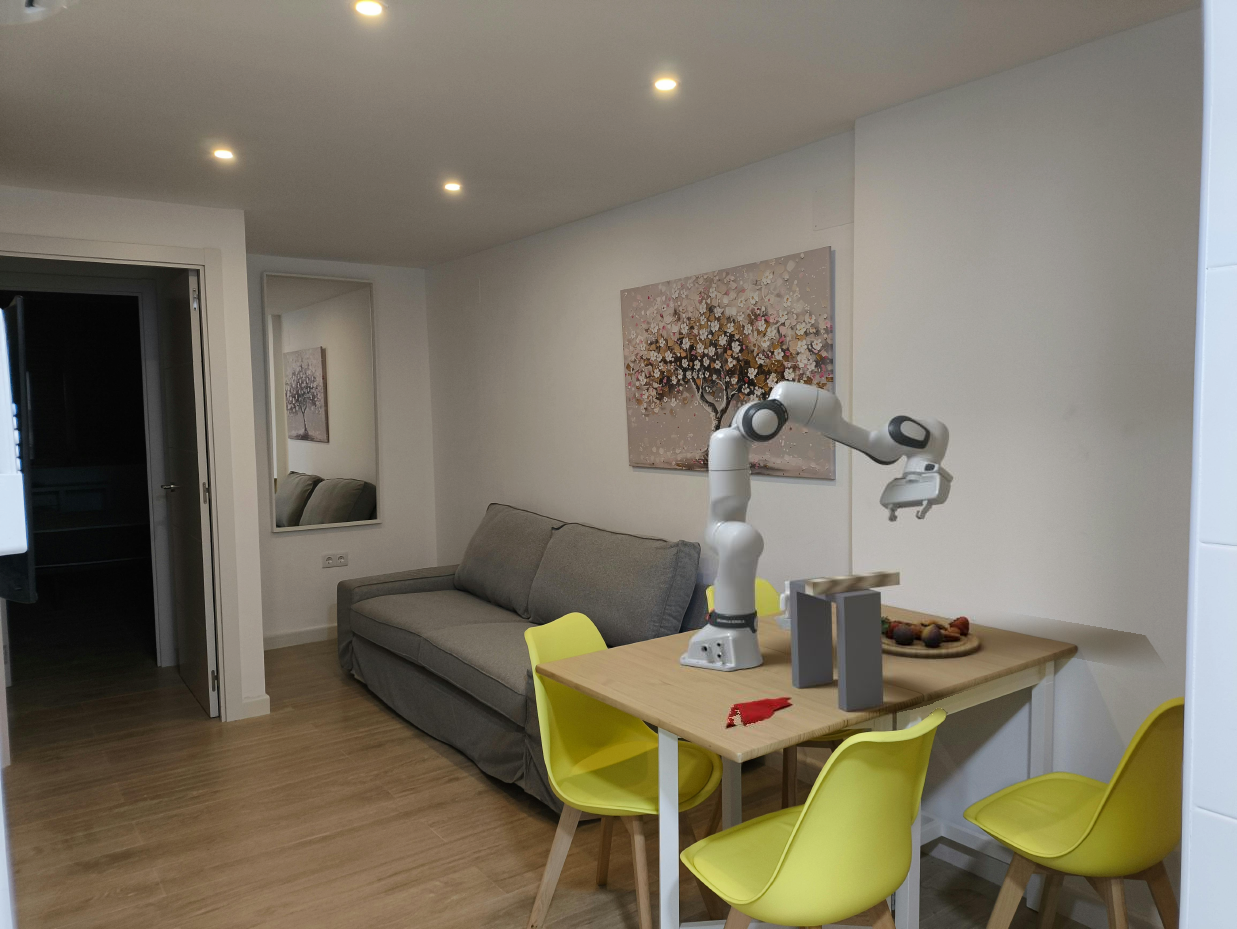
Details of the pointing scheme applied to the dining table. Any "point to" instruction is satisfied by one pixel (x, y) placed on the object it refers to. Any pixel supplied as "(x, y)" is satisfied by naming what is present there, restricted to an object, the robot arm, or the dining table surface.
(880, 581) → the maple bar
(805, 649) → the grey arch
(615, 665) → the dining table surface
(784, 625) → the figurine
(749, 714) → the cloth
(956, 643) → the wooden plate with food
